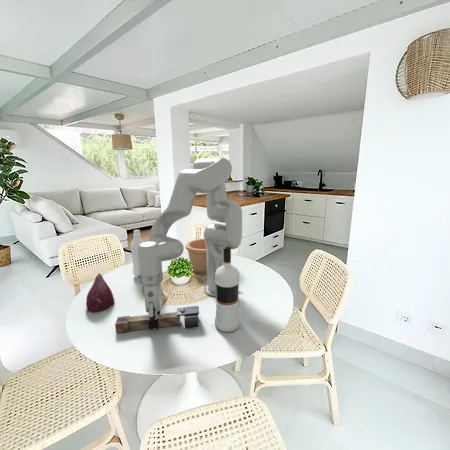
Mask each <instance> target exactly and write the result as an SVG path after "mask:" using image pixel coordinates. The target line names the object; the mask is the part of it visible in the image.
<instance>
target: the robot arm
mask: <svg viewBox="0 0 450 450" xmlns="http://www.w3.org/2000/svg"><path fill="white" fill-rule="evenodd" d="M192 164H193V165H192V166H193V167H192V168H187V169H183V170H181V171H180V172H178V174H177V177H176V181H175V183H174V186H173V190H172V193H171V196H170V199H169V203H168V205H167V206H166V208H165V209H164V210H163V211H162V212H161V214H159V216H158V217H157V218H156V219H155V221H154V223H153V224H152V227H151V229H150V233H149V236H148V240H147V241H144V242H143V243H141V244H139V246H138V261H139V272H140V276H139V282H140V284H141V285H142V286H143V294H144V295H143V296H144V306H145V308H144V309H145V311H146V313H148V314H147V315H148V322H149V328H148V330H158V329H159V328H160V327H159V325H158V318H157V314H161V310H162V304H163V303H162V291H163V289H162V290H161V287H162V282H163V280H164V278H163V263H162V262H167V261H173V260H176V259H178V258H180V257H181V256H182V254H183V252H184V248H185V247H184V244H183V243H182V241H180V240H179V239H177V238H173V237H170V236H167V234H168V232H169V230H170V228H171V227H172V225H174V223H176V222H177V221H180V220H181V219H183V218H185V217H188V216H190V214H191V213H192V209H193V205H194V202H195V199H196V196H197V194H206V216H207V218H208V219H209V220H211V221H213V222H218V223H210V224H208V225H206V227H205V228H204V231H203V239H204V240H205V245H206V254H207V274H206V281H207V282H206V284H205V285H204V288H203V291H204V293H205V294H206V295H208V296H211V297H216V282H215V280H216V278H215V272H216V270H217V269H218V268H219V267H221V266H222V265H223V254H224V253H223V248H224V247H226V246H228V247H231V250H236V249H238V248H239V246H240V245H241V243H242V237H243V210H242V207H241V205H240V204H239V203H238V202H237V201H234V200H228V199H227V198H228V197H227V186H226V183H225V182H226V181H228V179H229V178H230V176H231V174H232V171H233V166H232V163H231V161H230V160H228V159H227V158H225V157H203V158H198V159H196V160H195V161H194V162H193V163H192ZM222 223H224V224H222ZM154 314H155V315H154Z"/></svg>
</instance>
